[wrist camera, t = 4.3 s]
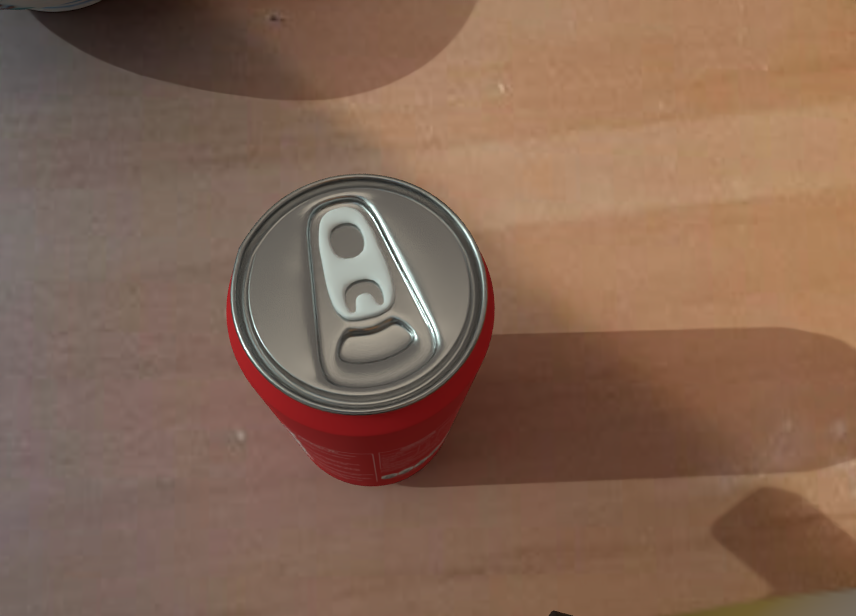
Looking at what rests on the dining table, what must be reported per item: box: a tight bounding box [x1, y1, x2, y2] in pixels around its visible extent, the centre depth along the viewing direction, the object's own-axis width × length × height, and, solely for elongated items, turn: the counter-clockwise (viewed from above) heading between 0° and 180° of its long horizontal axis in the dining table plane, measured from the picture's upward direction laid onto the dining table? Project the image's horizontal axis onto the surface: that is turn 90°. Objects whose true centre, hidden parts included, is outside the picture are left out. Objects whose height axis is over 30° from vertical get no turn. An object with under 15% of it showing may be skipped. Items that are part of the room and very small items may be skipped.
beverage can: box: [226, 174, 495, 486], centre depth 19 cm, size 5×5×12 cm
